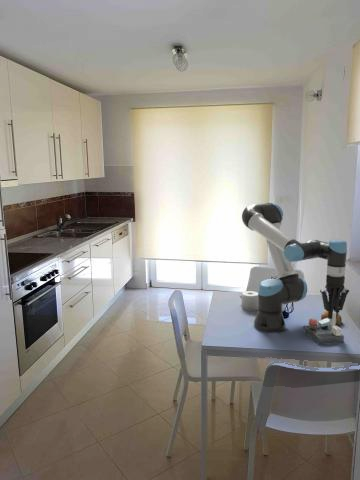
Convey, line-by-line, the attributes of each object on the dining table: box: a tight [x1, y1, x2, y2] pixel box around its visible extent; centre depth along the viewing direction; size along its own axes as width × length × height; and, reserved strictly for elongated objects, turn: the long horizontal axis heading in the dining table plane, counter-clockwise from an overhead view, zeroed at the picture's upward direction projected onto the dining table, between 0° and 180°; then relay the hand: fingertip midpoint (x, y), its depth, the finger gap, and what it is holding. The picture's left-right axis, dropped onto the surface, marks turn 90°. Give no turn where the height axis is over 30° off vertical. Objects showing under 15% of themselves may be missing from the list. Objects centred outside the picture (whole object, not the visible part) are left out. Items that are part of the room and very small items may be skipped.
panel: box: [303, 324, 345, 345], centre depth 177 cm, size 12×14×4 cm
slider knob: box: [331, 325, 342, 336], centre depth 172 cm, size 2×4×4 cm, turn 9°
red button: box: [308, 318, 318, 326], centre depth 180 cm, size 4×4×2 cm
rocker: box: [317, 318, 330, 327], centre depth 181 cm, size 5×4×2 cm
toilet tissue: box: [239, 290, 258, 312], centre depth 217 cm, size 9×13×9 cm
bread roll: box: [320, 310, 343, 327], centre depth 194 cm, size 10×10×8 cm
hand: (332, 324), depth 171 cm, fingers closed
